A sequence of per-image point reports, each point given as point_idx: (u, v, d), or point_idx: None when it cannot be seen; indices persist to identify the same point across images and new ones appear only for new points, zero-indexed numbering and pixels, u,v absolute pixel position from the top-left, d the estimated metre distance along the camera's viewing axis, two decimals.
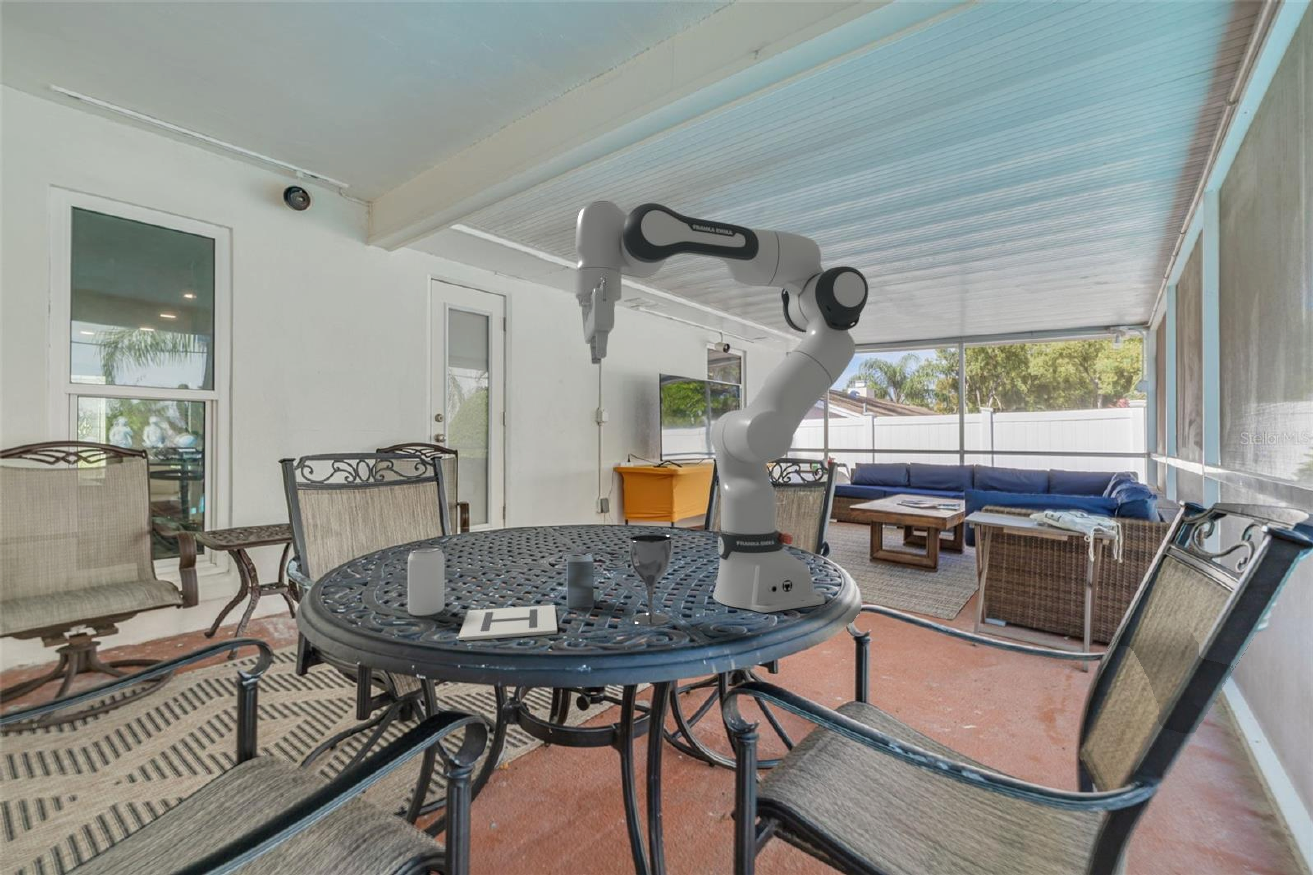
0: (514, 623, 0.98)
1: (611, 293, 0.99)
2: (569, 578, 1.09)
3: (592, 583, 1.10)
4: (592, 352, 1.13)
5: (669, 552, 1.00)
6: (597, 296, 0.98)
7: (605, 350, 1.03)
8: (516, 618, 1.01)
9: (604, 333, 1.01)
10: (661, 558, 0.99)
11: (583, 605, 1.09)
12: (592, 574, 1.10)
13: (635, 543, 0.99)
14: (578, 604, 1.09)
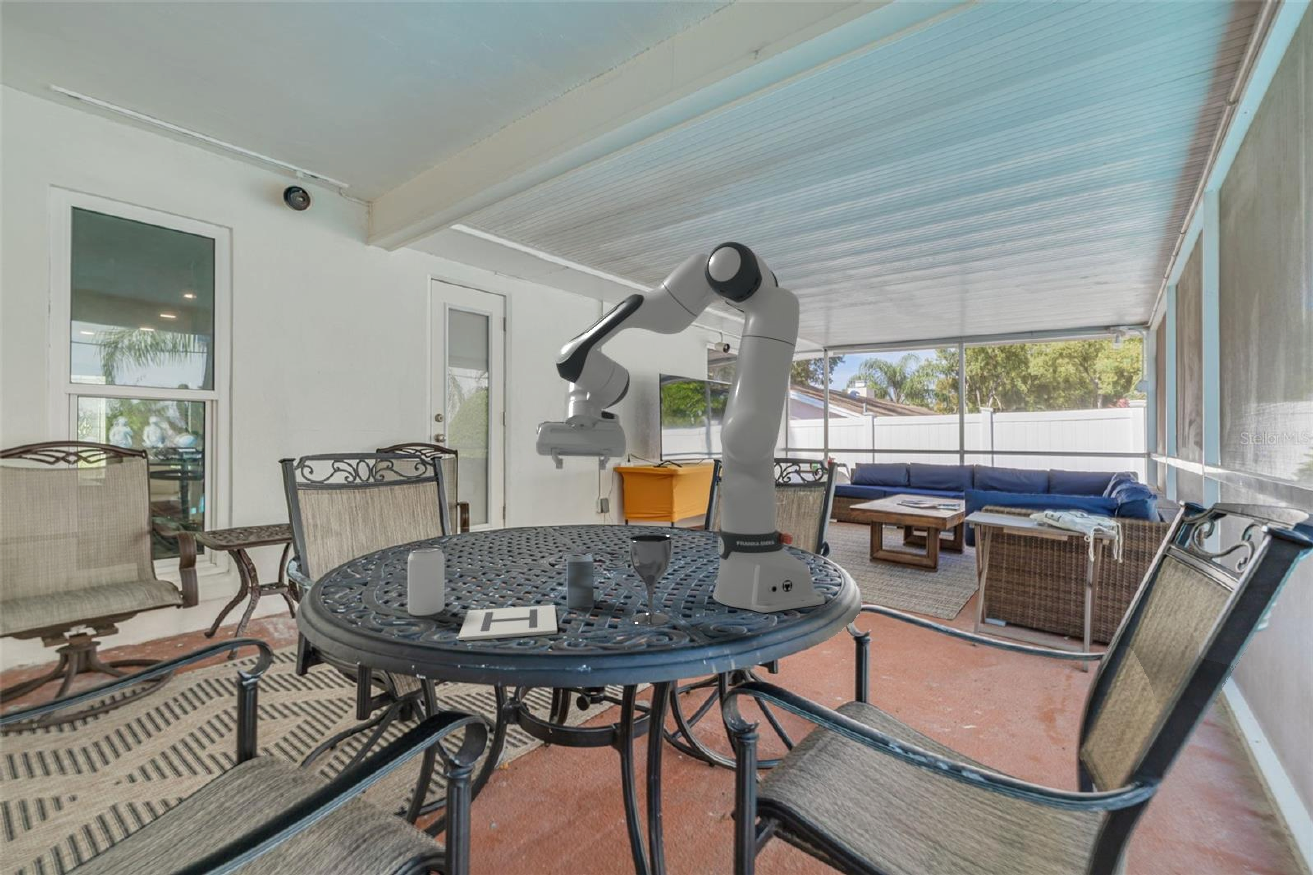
0: (514, 623, 0.98)
1: (541, 427, 1.28)
2: (569, 578, 1.09)
3: (592, 583, 1.10)
4: None
5: (669, 552, 1.00)
6: None
7: (556, 460, 1.22)
8: (516, 618, 1.01)
9: (551, 451, 1.25)
10: (661, 558, 0.99)
11: (583, 605, 1.09)
12: (592, 574, 1.10)
13: (635, 543, 0.99)
14: (578, 604, 1.09)
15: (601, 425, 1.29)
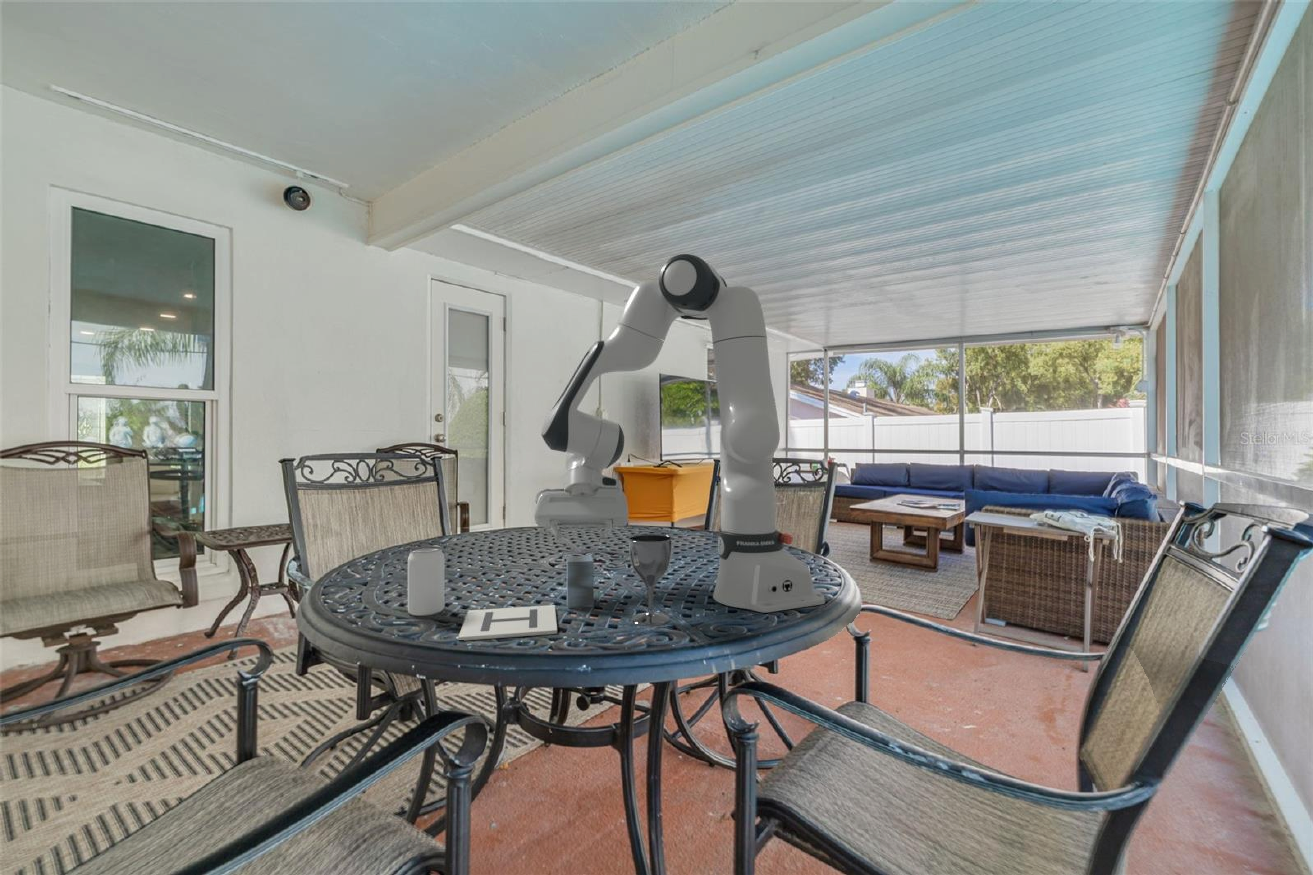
0: (514, 623, 0.98)
1: (540, 496, 1.23)
2: (569, 578, 1.09)
3: (592, 583, 1.10)
4: None
5: (669, 552, 1.00)
6: None
7: (554, 534, 1.17)
8: (516, 618, 1.01)
9: (550, 523, 1.19)
10: (661, 558, 0.99)
11: (583, 605, 1.09)
12: (592, 574, 1.10)
13: (635, 543, 0.99)
14: (578, 604, 1.09)
15: (602, 492, 1.24)
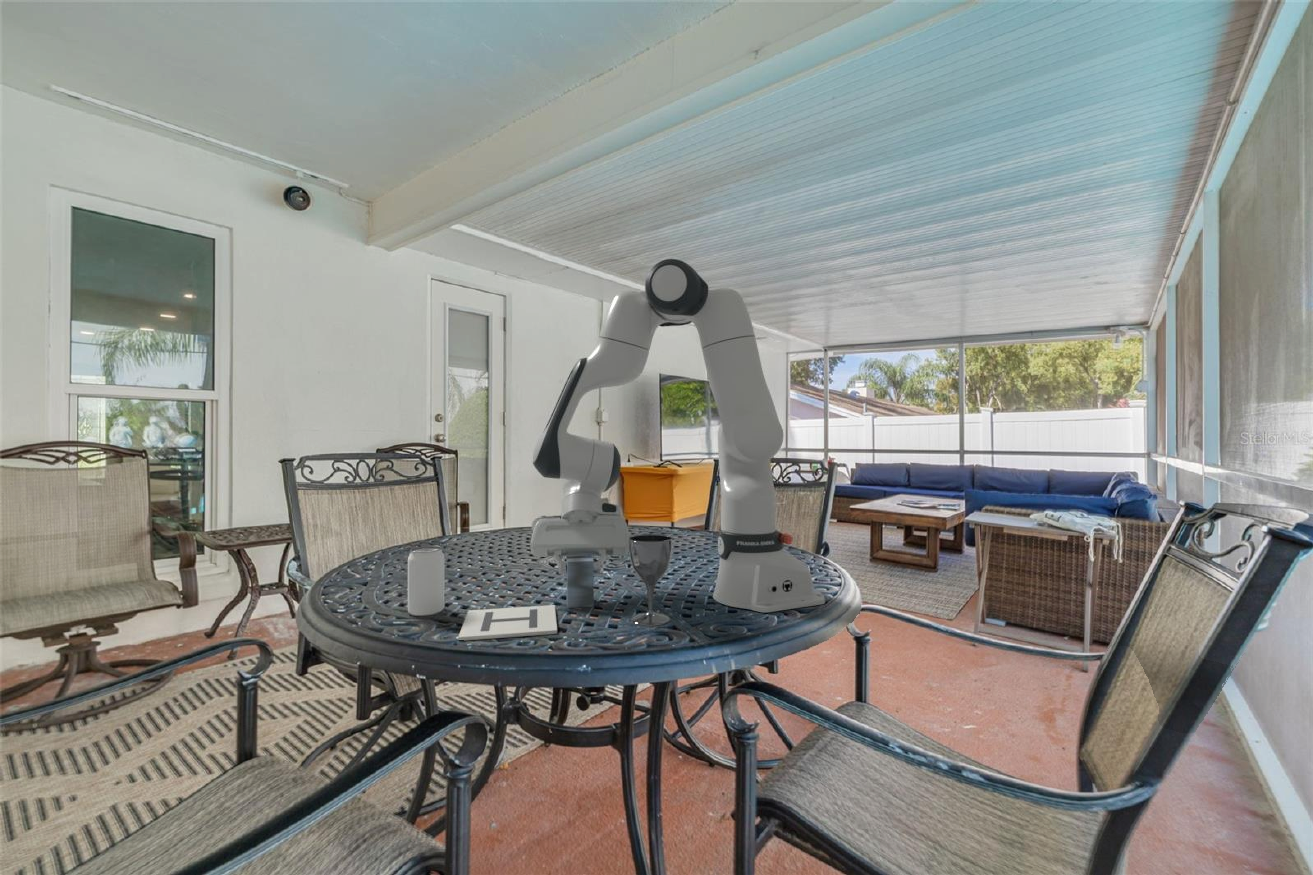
0: (514, 623, 0.98)
1: (536, 524, 1.17)
2: (569, 578, 1.09)
3: (592, 583, 1.10)
4: None
5: (669, 552, 1.00)
6: None
7: (558, 565, 1.11)
8: (516, 618, 1.01)
9: None
10: (661, 558, 0.99)
11: (583, 605, 1.09)
12: (592, 574, 1.10)
13: (635, 543, 0.99)
14: (578, 604, 1.09)
15: (602, 519, 1.17)
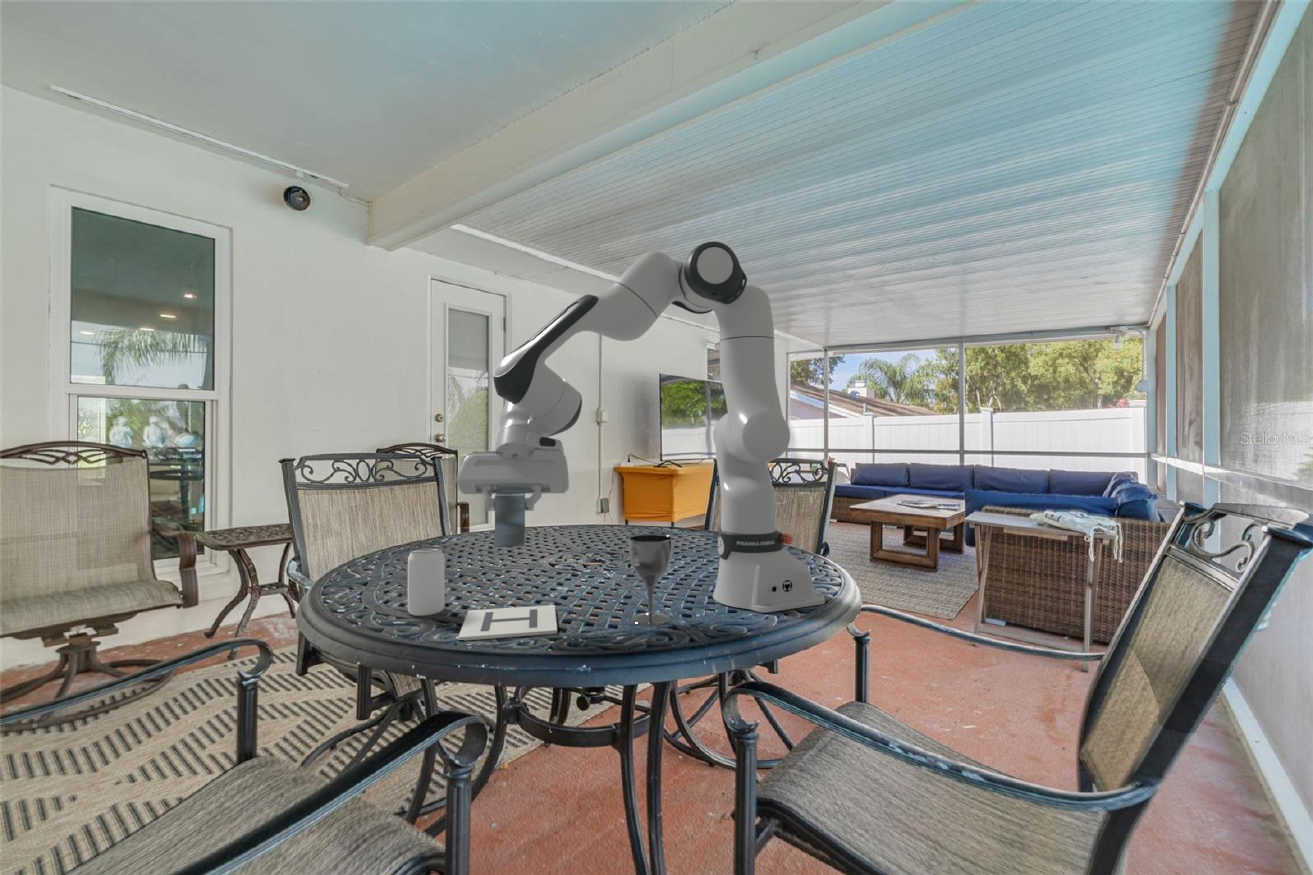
0: (514, 623, 0.98)
1: None
2: (496, 514, 0.97)
3: (523, 520, 0.98)
4: None
5: (669, 552, 1.00)
6: None
7: (486, 501, 0.99)
8: (516, 618, 1.01)
9: None
10: (661, 558, 0.99)
11: (512, 544, 0.98)
12: (523, 510, 0.98)
13: (635, 543, 0.99)
14: (507, 543, 0.97)
15: (539, 454, 1.05)
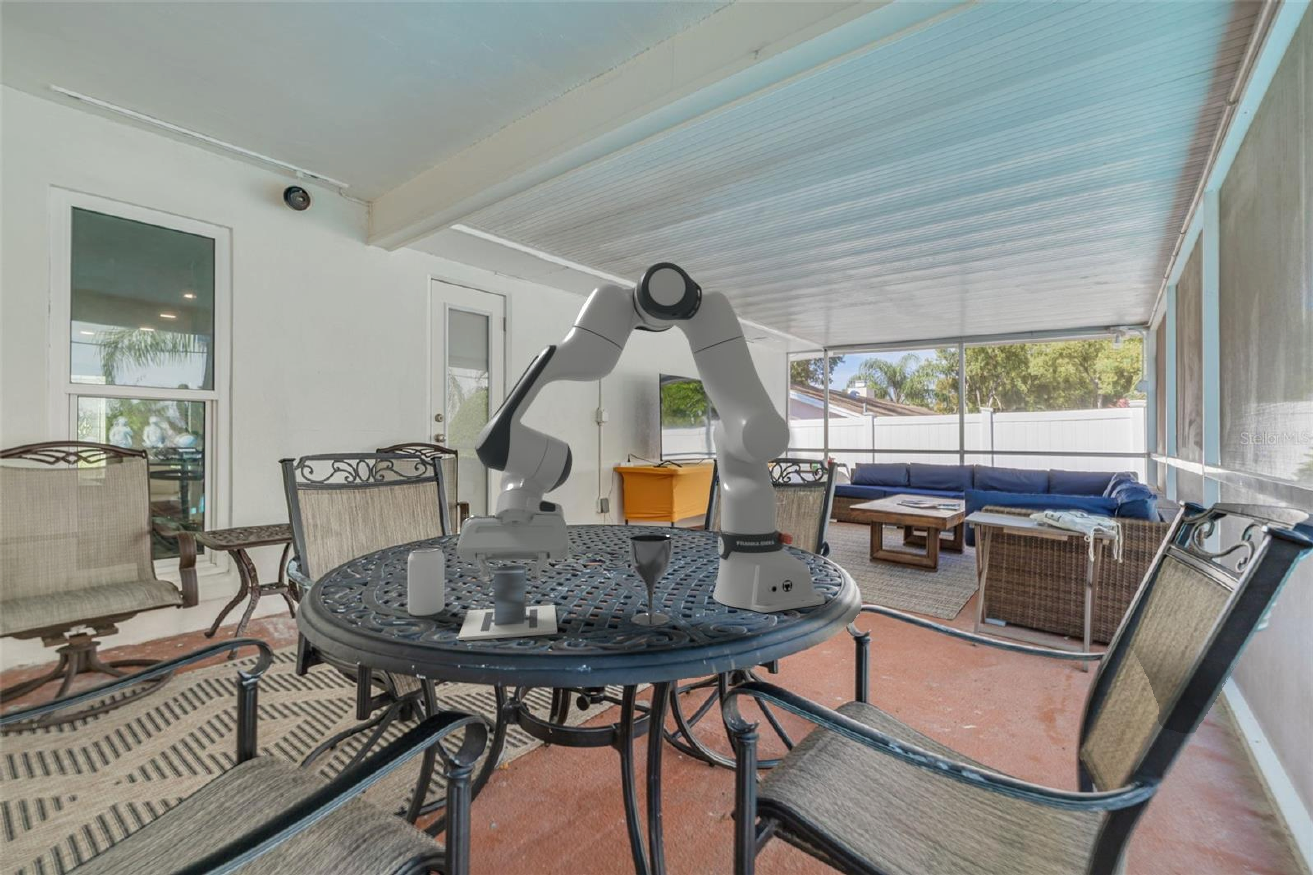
0: None
1: (465, 524, 1.05)
2: (496, 591, 0.97)
3: (522, 597, 0.98)
4: None
5: (669, 552, 1.00)
6: None
7: (481, 570, 0.99)
8: None
9: None
10: (661, 558, 0.99)
11: (512, 622, 0.98)
12: (522, 587, 0.98)
13: (635, 543, 0.99)
14: (506, 620, 0.98)
15: (539, 520, 1.06)
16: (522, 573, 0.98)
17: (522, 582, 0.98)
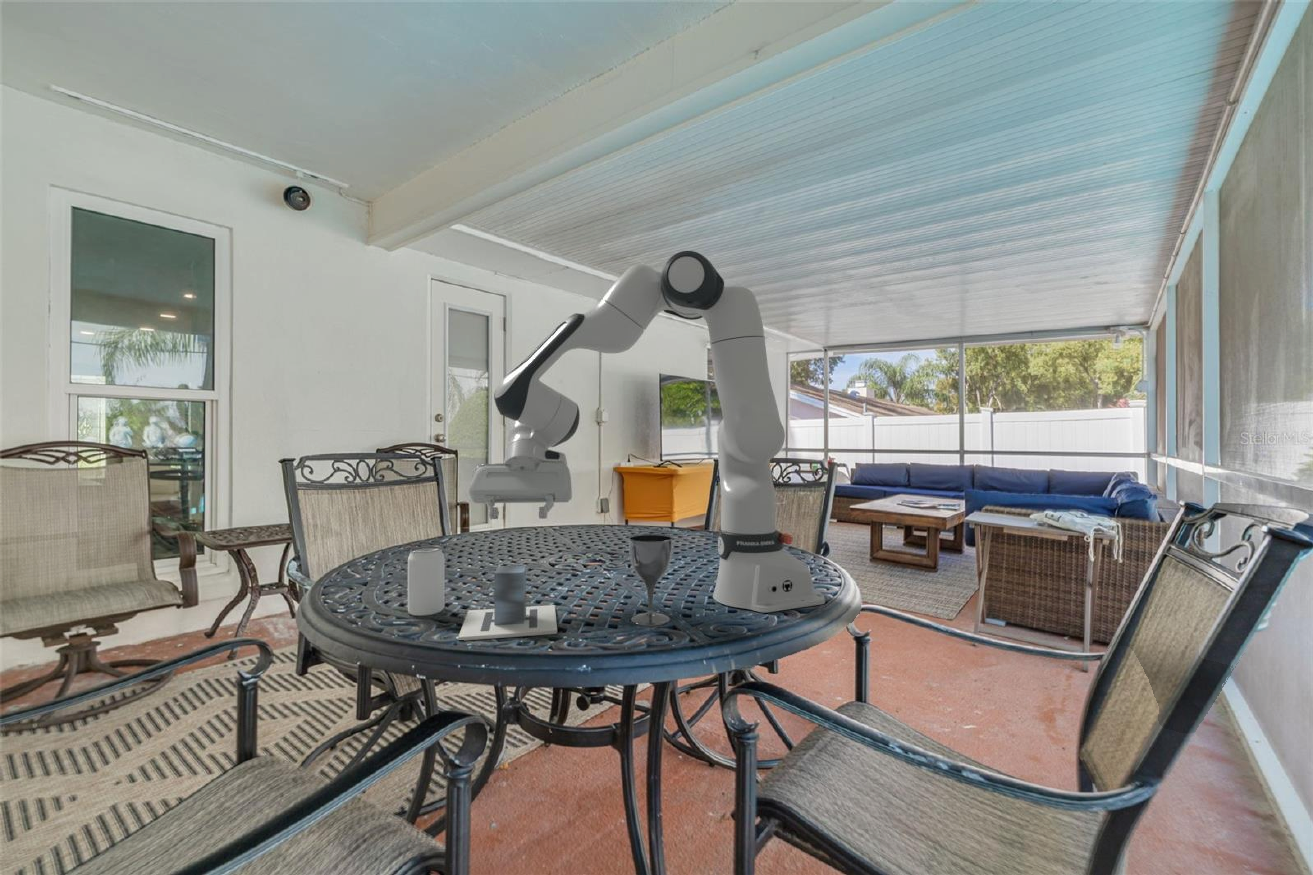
0: None
1: (477, 470, 1.15)
2: (496, 591, 0.97)
3: (522, 597, 0.98)
4: None
5: (669, 552, 1.00)
6: None
7: (490, 510, 1.09)
8: None
9: None
10: (661, 558, 0.99)
11: (512, 622, 0.98)
12: (522, 587, 0.98)
13: (635, 543, 0.99)
14: (506, 620, 0.98)
15: (544, 466, 1.15)
16: (522, 573, 0.98)
17: (522, 582, 0.98)
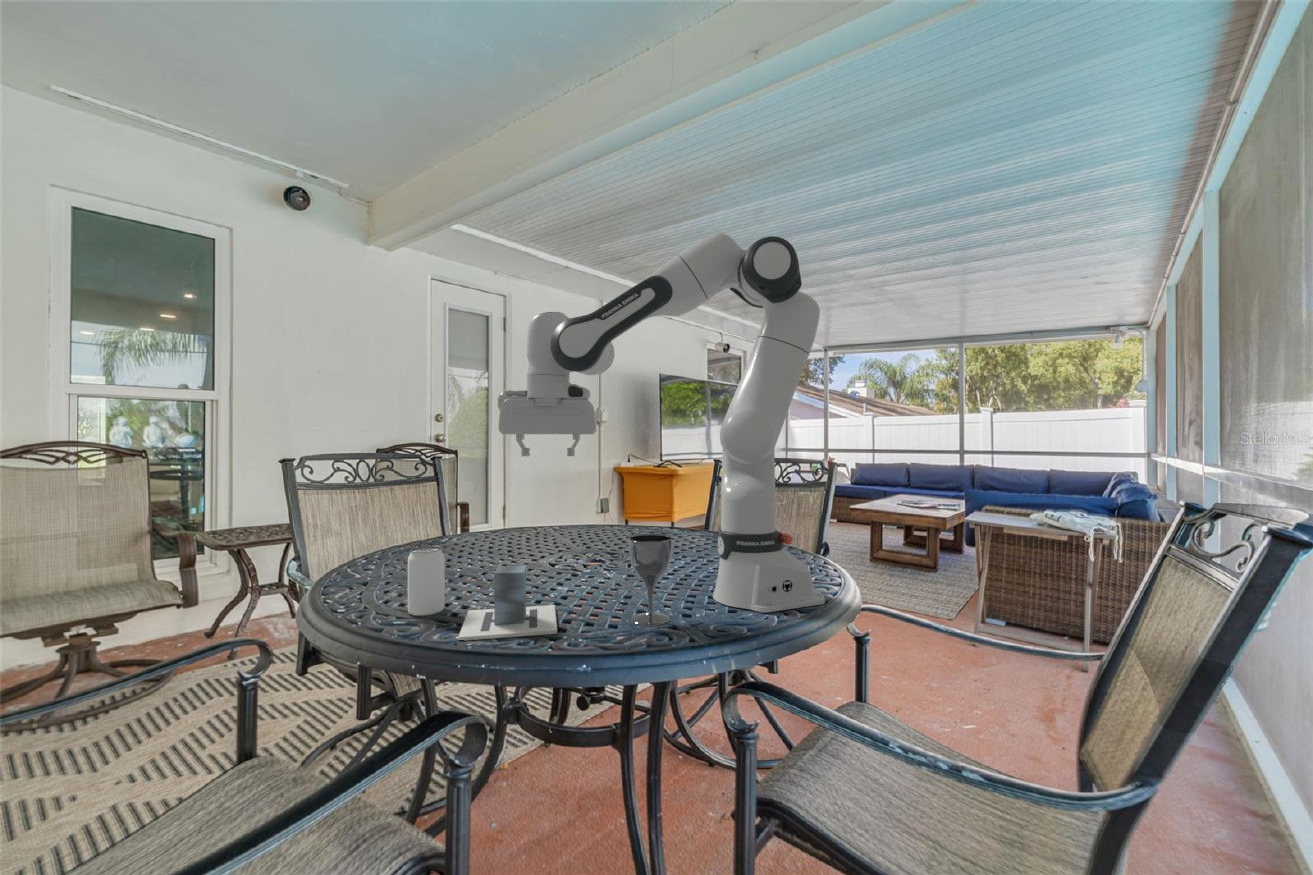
0: None
1: (502, 404, 1.16)
2: (496, 591, 0.97)
3: (522, 597, 0.98)
4: None
5: (669, 552, 1.00)
6: None
7: None
8: None
9: None
10: (661, 558, 0.99)
11: (512, 622, 0.98)
12: (522, 587, 0.98)
13: (635, 543, 0.99)
14: (506, 620, 0.98)
15: (568, 404, 1.16)
16: (522, 573, 0.98)
17: (522, 582, 0.98)
